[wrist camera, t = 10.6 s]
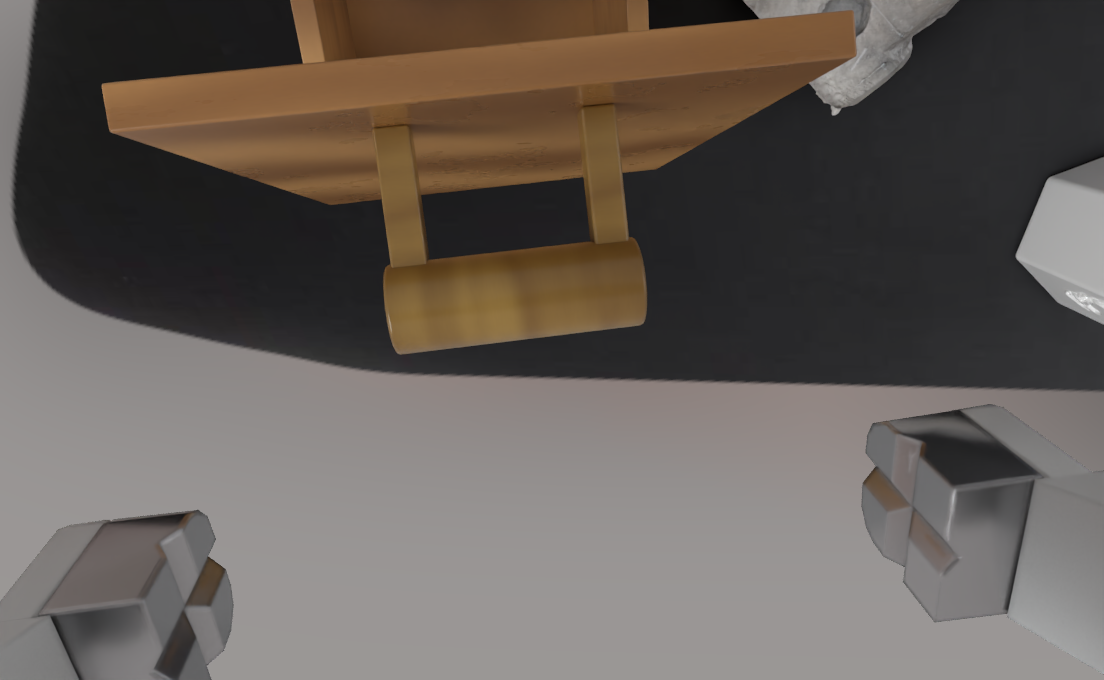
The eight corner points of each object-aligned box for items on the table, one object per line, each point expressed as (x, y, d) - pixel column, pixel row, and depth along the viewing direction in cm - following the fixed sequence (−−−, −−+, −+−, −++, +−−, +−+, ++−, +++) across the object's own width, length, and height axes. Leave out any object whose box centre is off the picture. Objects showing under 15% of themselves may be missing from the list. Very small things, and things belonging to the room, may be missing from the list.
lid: (99, 83, 12) (155, 398, 13) (855, 8, 13) (875, 309, 14) (325, 183, 28) (345, 320, 29) (655, 147, 29) (668, 282, 30)
